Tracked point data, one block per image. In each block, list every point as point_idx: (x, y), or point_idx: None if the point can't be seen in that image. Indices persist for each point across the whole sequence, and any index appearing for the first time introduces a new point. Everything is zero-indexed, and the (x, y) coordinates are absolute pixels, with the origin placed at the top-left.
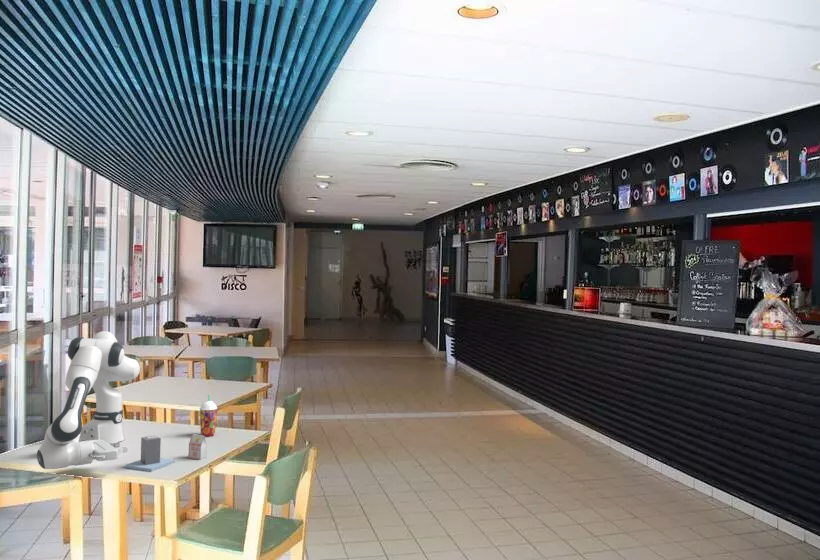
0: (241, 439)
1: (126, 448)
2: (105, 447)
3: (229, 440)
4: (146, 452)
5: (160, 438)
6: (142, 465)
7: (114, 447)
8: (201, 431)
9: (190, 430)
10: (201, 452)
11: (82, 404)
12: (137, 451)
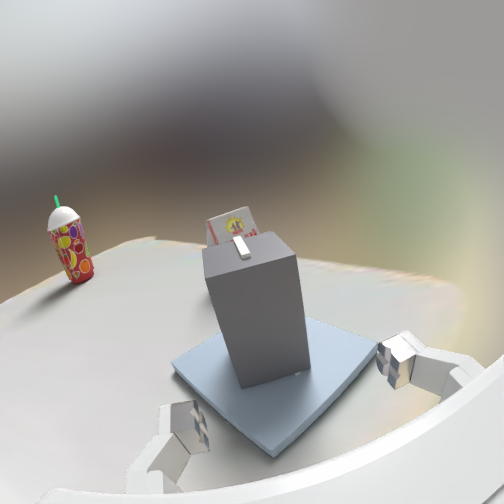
0: (152, 247)
1: (409, 334)
2: (491, 462)
3: (143, 256)
4: (304, 317)
5: (272, 231)
6: (313, 379)
7: (191, 454)
8: (75, 274)
9: (33, 296)
10: None
11: None
12: (56, 386)
